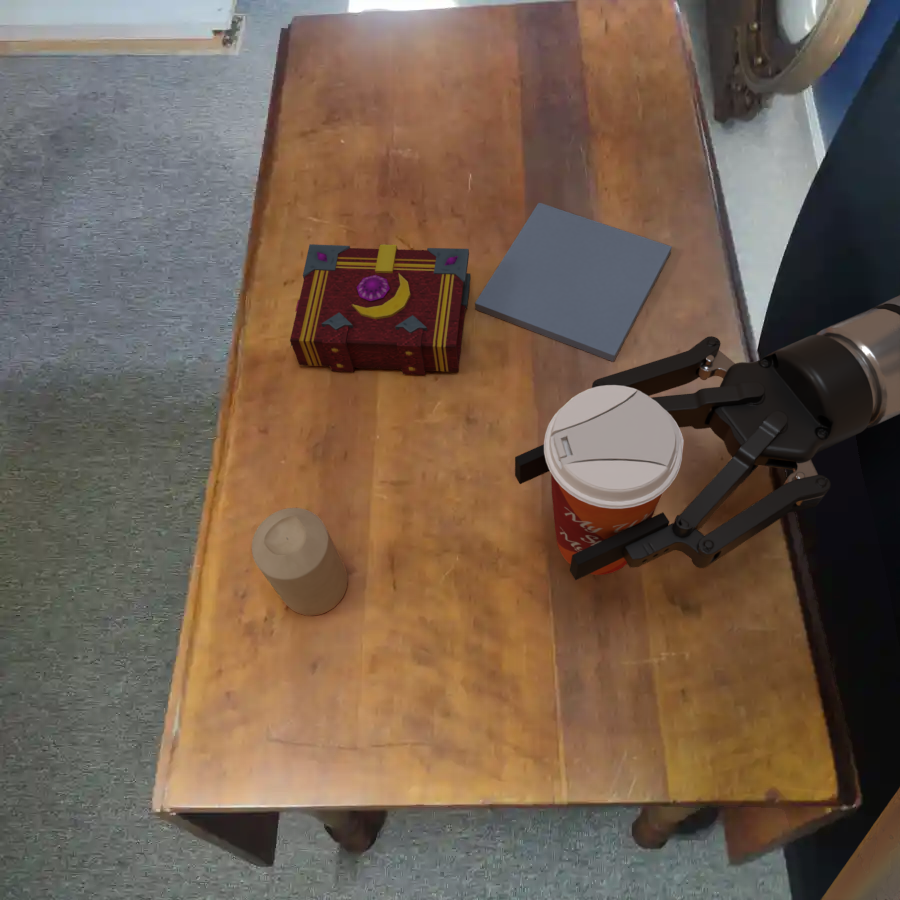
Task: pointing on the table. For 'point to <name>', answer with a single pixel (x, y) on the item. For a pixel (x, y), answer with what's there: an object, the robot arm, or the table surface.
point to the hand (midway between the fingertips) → (545, 517)
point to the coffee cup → (608, 465)
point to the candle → (300, 561)
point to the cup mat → (574, 280)
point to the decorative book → (382, 308)
